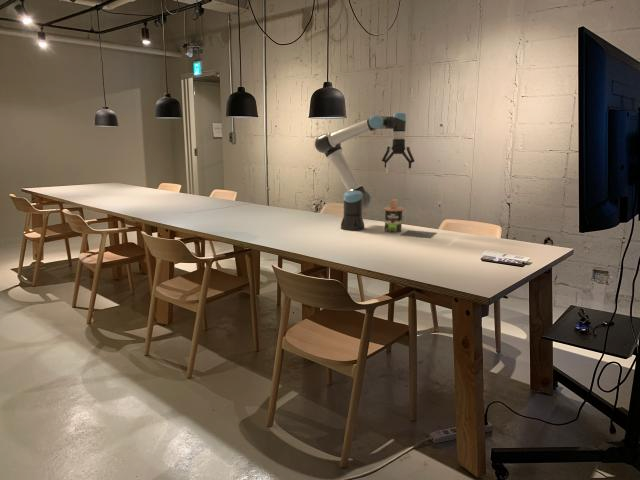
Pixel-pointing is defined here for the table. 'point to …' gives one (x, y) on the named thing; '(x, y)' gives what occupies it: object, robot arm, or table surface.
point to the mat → (418, 234)
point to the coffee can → (393, 221)
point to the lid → (394, 206)
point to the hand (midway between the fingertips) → (397, 173)
